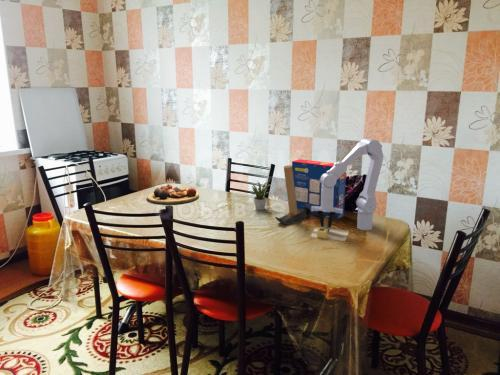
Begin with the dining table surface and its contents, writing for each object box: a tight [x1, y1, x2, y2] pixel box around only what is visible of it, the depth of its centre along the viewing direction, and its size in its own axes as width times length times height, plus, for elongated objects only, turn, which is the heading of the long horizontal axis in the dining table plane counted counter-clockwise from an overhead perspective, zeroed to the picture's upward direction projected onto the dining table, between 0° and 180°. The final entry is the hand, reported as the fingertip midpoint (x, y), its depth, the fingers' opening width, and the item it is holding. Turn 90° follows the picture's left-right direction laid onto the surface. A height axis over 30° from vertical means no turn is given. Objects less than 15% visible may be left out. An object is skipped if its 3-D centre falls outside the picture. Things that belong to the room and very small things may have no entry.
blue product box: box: [291, 158, 347, 220], centre depth 232 cm, size 28×8×28 cm, turn 53°
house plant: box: [250, 180, 273, 211], centre depth 243 cm, size 14×14×16 cm
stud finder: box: [317, 227, 328, 239], centre depth 198 cm, size 5×4×3 cm
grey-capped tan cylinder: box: [322, 216, 330, 230], centre depth 204 cm, size 3×3×6 cm
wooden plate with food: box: [147, 183, 200, 205], centre depth 268 cm, size 32×32×8 cm
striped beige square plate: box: [309, 227, 350, 242], centre depth 201 cm, size 14×16×1 cm
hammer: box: [274, 164, 311, 226], centre depth 218 cm, size 20×5×30 cm, turn 129°
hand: (326, 226), depth 205 cm, fingers closed on grey-capped tan cylinder, 3 cm apart
